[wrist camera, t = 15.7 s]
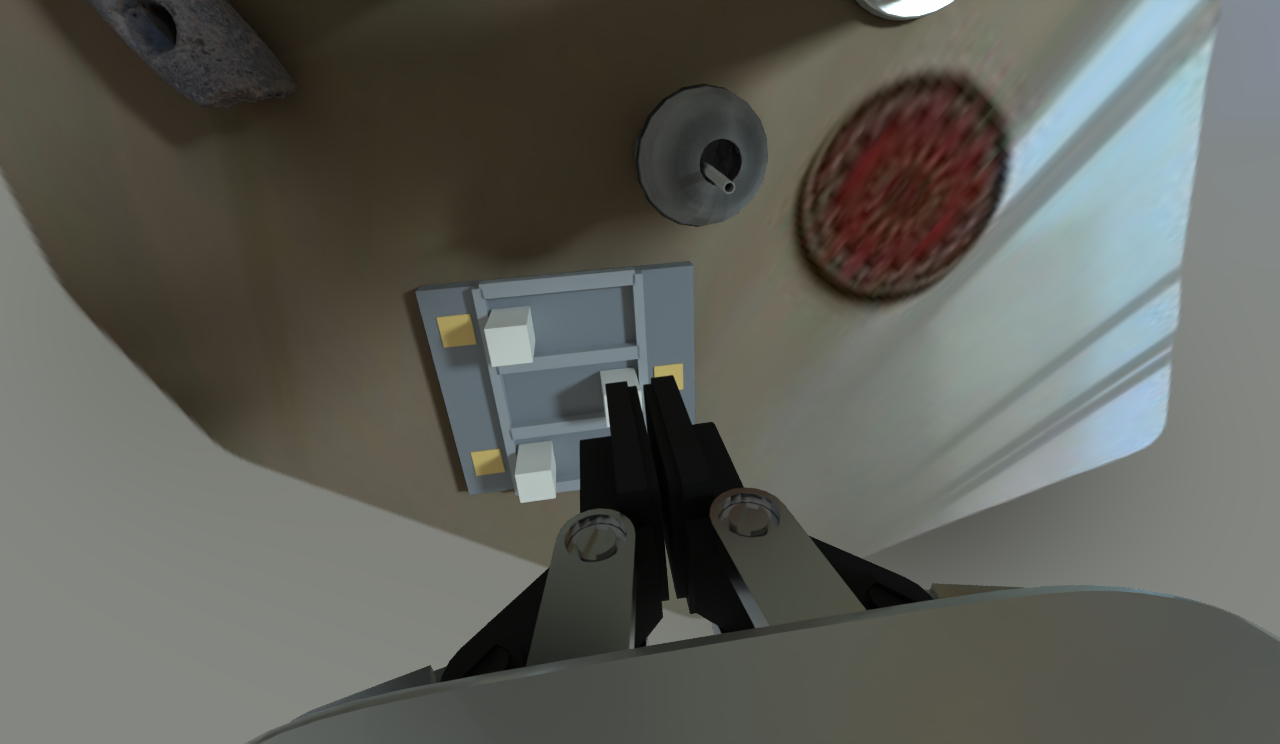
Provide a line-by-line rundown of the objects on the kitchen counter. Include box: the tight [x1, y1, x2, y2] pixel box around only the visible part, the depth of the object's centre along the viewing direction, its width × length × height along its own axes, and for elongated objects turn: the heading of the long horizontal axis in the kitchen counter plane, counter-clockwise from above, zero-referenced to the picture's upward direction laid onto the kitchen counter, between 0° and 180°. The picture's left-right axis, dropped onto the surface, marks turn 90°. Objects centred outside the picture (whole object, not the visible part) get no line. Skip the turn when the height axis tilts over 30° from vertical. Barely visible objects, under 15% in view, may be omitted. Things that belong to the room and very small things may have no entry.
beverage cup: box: [633, 84, 768, 227], centre depth 29 cm, size 7×7×20 cm
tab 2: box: [515, 440, 556, 503], centre depth 44 cm, size 3×3×4 cm
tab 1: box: [484, 306, 535, 367], centre depth 38 cm, size 3×3×4 cm
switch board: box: [415, 261, 695, 495], centre depth 44 cm, size 22×21×2 cm
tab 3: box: [600, 367, 643, 427], centre depth 42 cm, size 3×3×4 cm
